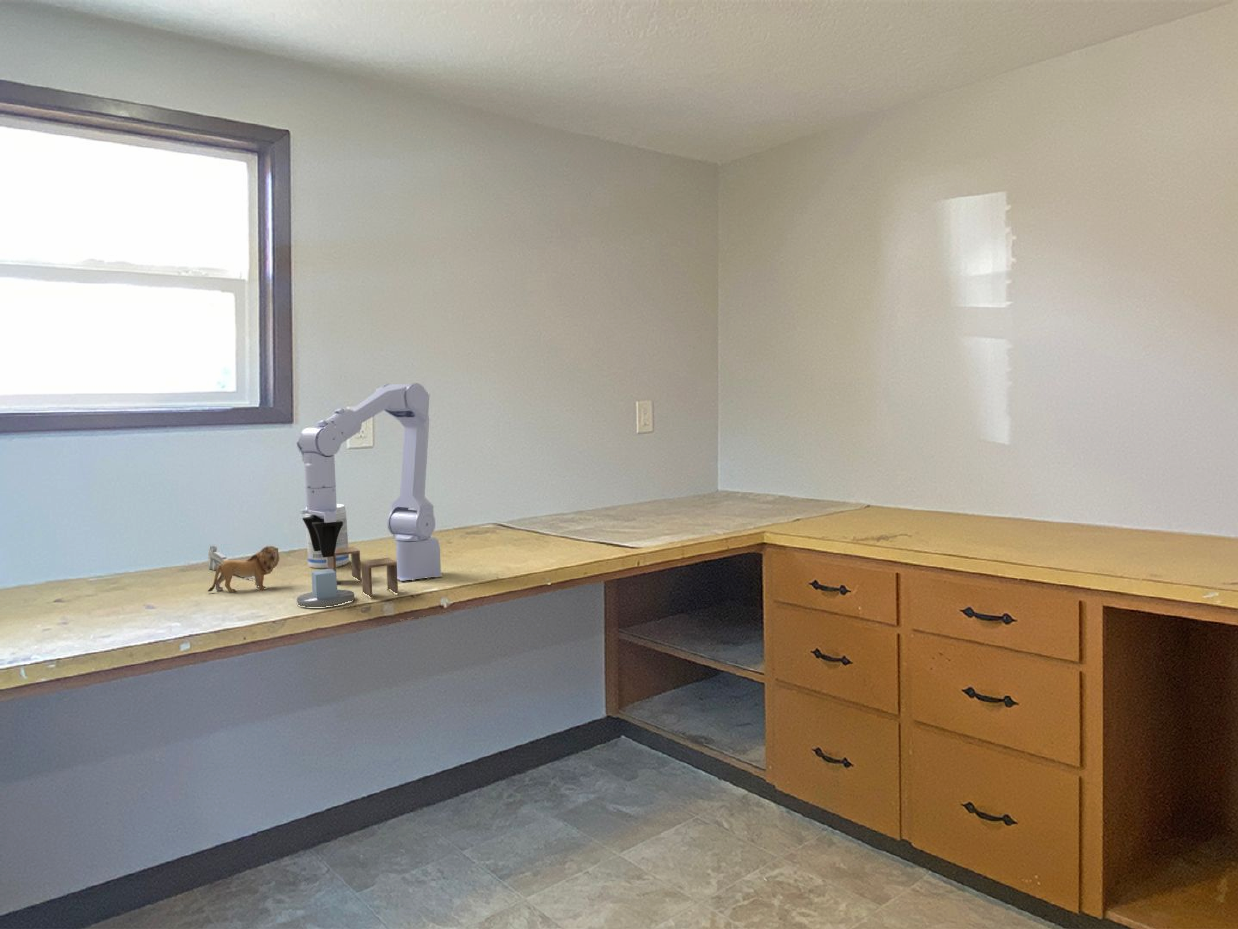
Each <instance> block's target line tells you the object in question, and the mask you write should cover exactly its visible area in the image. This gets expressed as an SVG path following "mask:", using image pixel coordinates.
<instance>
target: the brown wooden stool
mask: <svg viewBox="0 0 1238 929" xmlns="http://www.w3.org/2000/svg"><path fill="white" fill-rule="evenodd" d="M379 567H380V568H381V567H386V580H387V581H386V584H387V585H386V586H387V590H388V589H391V590H392V591H393V592H395V593H398V594H399V586H398V584H399V583H398V581H399V580H398V579H397V560H394V559H392V558H390V557H384V558H383V557H382V558H375V559H367V560H365V559H364V560H360V568H361V585H362V586H361V587H362V593H363V592H364V593H365V594H367V595H369V596H370V597H372V596H373V577H372V576H373V575H372V574H373V573H372V568H379Z"/></svg>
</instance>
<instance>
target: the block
mask: <svg viewBox="0 0 1238 929" xmlns="http://www.w3.org/2000/svg"><path fill="white" fill-rule="evenodd" d="M337 577H338V576H337V571H336V572H335V571H334V570H332V569H328V568H326V569H322V570H321V569H319V570H311V589H312V591H311V592H312V593H313V596H314V597H315V598H316V599H324V598H331V597H337V590H338V580H337V579H338V578H337Z"/></svg>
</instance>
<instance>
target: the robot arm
mask: <svg viewBox="0 0 1238 929" xmlns="http://www.w3.org/2000/svg"><path fill="white" fill-rule="evenodd" d="M429 406H430V393H429V392H428V391H427V390H426V388H425V387H424V386H423V385H422V384H420V383H418V382H413V383H396V384H395V383H393V384H392V383H385V384H383V385H382V386H381V387H377V388H376V389H375V392H374V393H372V394H371V395H370V396H368V397H367V398H365V399H364V400H363V401H361V402H360V403H359V404H358V405H356V406H354V408H351V409H350V408H343V407H339V408H336V410H334V414H332V415H331V416H329V417H327V418H326V419H321V420H319V421H318V424H317V425H316V426H308V427H306V428H304V429H303V430H302V431H301V433H299V436H298V440H297V441H296V448H297V450H298V452H299V453H300V454H301V457H302V459H301V460H302V462H303V463H304V479H305V480H304V481H305V482H304V483H305V501H306V502H305V503H306V504H305V505H306V507H307V509H300V514H302V515H305V514H310V515H311V516H310V517H305V516H304V517H302V521H303V523H304V524H305V527H306V526H307V529H308V531H309V534H310V538H311V542H312V546H313V549H314V551H321V554H322V556H323V557H332V556H334V554H335V549H336V543H337V538H338V534H339V532H340V529H341V527H342V526H343V522H342V521H337V522H336V513H337V512H338V508H337V504H338V503H337V484H336V482H337V481H336V468H335V467H336V466H335V465H336V464H335V463H336V461H335V455H336V454H338V452H339V451H340V448H341V446H342V444H343V443H345V442H346V441H348V440H349V439H351V438H352V437H354V436H355V435H356V434H358V433H360V431H361V429H362V425H363V423H364V422H366V421H368V420H370V419H372V418H373V417H375V416H377V415H378V414H380V413H382V412H383V411H384V412H385V413H387V414H388V415H390V416H391V417H393V418H394V419H396V420H397V421H399V422H400V424H401V425H402V426H403V442H402V443H403V444H402V456H401V458H402V459H401V472H400V473H401V475H400V488H399V489H400V490H399V491H400V492H399V496H398V497H397V498H396V499H394V501H392V503H391V506H390V507H391V508H390V512H389V515H388V516H387V524H386V526H387V529H388V532H389V533H390V534H391V535H392V536H393V539H394V540H395V554H396V555H395V556H396V558H395V559H396V562H397V578H398V579H399V580H401V581H405V580H412V579H419V578H425V577H435V578H440V577H439V576H441V577H442V576H443V575H442V573H441V572H442V570H441V567H442V566H441V547H440V543H439V540H438V538H437V537H436V536H432V534H433V533H434V531H435V529H436V518H435V515H434V505H433V504H432V503H431V502H430V501H429V500H428V499H427V498H426V497H425V494H426V491H425V490H426V480H427V462H428V447H429V446H428V444H429V430H430V418H429V416H430V415H429ZM398 579H397V580H398ZM399 580H398V581H399ZM401 581H400V582H401ZM412 581H413V580H412ZM405 582H406V581H405Z"/></svg>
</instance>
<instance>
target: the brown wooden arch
mask: <svg viewBox="0 0 1238 929" xmlns="http://www.w3.org/2000/svg"><path fill="white" fill-rule="evenodd" d="M345 554H349V555H350V557H351V558H350V560H351V577H352V576H353V577H355V578H357V579H358V580H361V581H362V569H361V553H360V550H359V549H358V548H356V547H354V546H348V547H346V548H337V549H335V554H334V556H332V557H327V560H328V568H327V569H332V570H334V571H335V572H336V573H337V567H336V555H345ZM353 577H352V578H353Z"/></svg>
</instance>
